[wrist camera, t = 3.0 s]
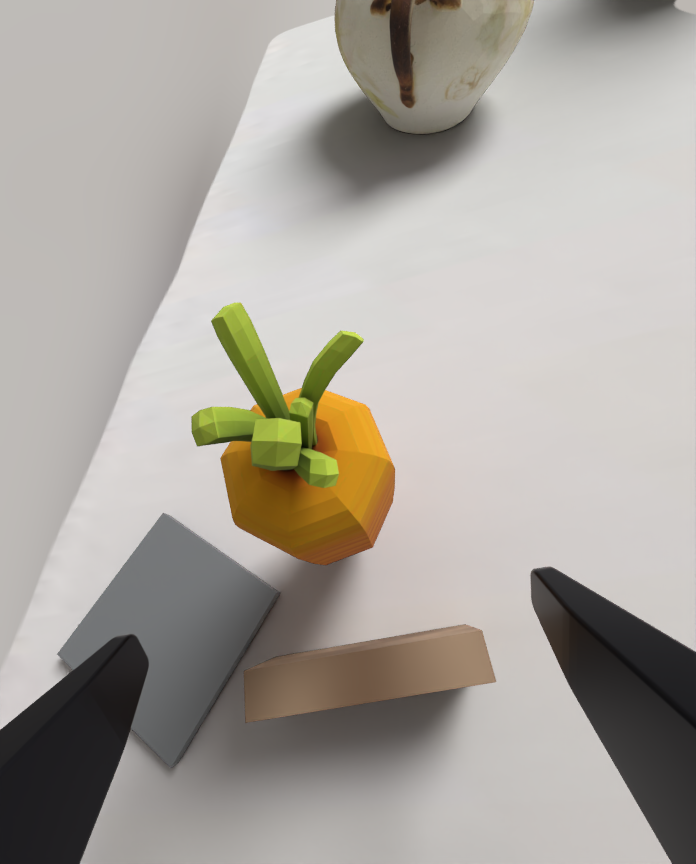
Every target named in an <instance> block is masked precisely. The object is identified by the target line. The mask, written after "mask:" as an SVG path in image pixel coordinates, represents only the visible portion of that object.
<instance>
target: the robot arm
mask: <svg viewBox="0 0 696 864" xmlns="http://www.w3.org/2000/svg"><path fill="white" fill-rule="evenodd" d="M531 599H532V604H533V607H534V610H535V612H536V614H537V617H538V619H539V621H540V623H541V625H542V628H543V630H544V632H545V634H546V636H547V639H548V641H549V643H550V645H551V647H552V649H553V652H554V654H555V656H556V658H557V660H558V663H559V665H560V667H561V669H562V671H563V673H564V675H565V678H566V680H567V682H568V684H569V686H570V688H571V689H572V691H573V693H574V695H575V697H576V698H577V700H578V702H579V704H580V705H581V707H582V709H583V711H584V712H585V714H586V716H587V717H588V719H589V721H590V723H591V724H592V726H593V728H594V730H595V731H596V733H597V735H598V736H599V738H600V740H601V742H602V743H603V745H604V747H605V749H606V750H607V752H608V754H609V755H610V757H611V759H612V761H613V762H614V764H615V766H616V768H617V769H618V771H619V773H620V774H621V776H622V778H623V780H624V781H625V783H626V785H627V787H628V788H629V790H630V792H631V793H632V795H633V797H634V799H635V800H636V802H637V804H638V806H639V807H640V809H641V811H642V812H643V814H644V816H645V818H646V819H647V821H648V823H649V825H650V826H651V828H652V830H653V832H654V833H655V835H656V837H657V838H658V840H659V842H660V844H661V845H662V847H663V849H664V851H665V852H666V854H667V856H668V857H669V859H670V861H671V863H672V864H696V652H695V651H693V650H692V649H690V648H688V647H687V646H685V645H683V644H682V643H680V642H678V641H676V640H675V639H673V638H671V637H670V636H668V635H666V634H665V633H663V632H661V631H660V630H658V629H656V628H654V627H653V626H651V625H649V624H648V623H646V622H644V621H643V620H641V619H639V618H638V617H636V616H634V615H633V614H631V613H629V612H627V611H626V610H624V609H622V608H621V607H619V606H617V605H616V604H614V603H612V602H611V601H609V600H607V599H606V598H604V597H602V596H600V595H599V594H597V593H595V592H594V591H592V590H590V589H589V588H587V587H585V586H584V585H582V584H580V583H578V582H577V581H575V580H573V579H572V578H570V577H568V576H567V575H565V574H563V573H562V572H560V571H558V570H557V569H555V568H553V567H543V568H537V569H533V570H532V571H531ZM148 668H149V660H148V657H147V655H146V653H145V651H144V649H143V647H142V645H141V643H140V641H139V639H138V638H137V636H136V635H134V634H125V635H119V636H116V637H114V638H112V639H111V640H110V641H108V642H107V643H106V644H105V645H103V646H102V647H101V648H100V649H99V650H97V651H96V652H95V653H94V654H92V655H91V656H90V657H89V658H88V659H86V660H85V661H84V662H83V663H82V664H80V665H79V666H78V667H77V668H75V669H74V670H73V671H72V672H71V673H69V674H68V675H67V676H66V677H64V678H63V679H62V680H61V681H60V682H58V683H57V684H56V685H55V686H53V687H52V688H51V689H50V690H49V691H47V692H46V693H45V694H44V695H42V696H41V697H40V698H39V699H38V700H36V701H35V702H34V703H33V704H31V705H30V706H29V707H28V708H27V709H25V710H24V711H23V712H22V713H20V714H19V715H18V716H17V717H16V718H14V719H13V720H12V721H11V722H9V723H8V724H7V725H6V726H5V727H3V728H2V729H1V730H0V864H80V861H81V859H82V856H83V854H84V851H85V849H86V846H87V843H88V841H89V838H90V836H91V833H92V831H93V828H94V826H95V823H96V820H97V818H98V815H99V813H100V810H101V808H102V805H103V802H104V800H105V797H106V795H107V792H108V790H109V787H110V784H111V782H112V779H113V777H114V774H115V772H116V769H117V766H118V764H119V761H120V759H121V756H122V753H123V750H124V748H125V745H126V742H127V739H128V736H129V732H130V729H131V726H132V722H133V719H134V716H135V712H136V709H137V706H138V702H139V699H140V696H141V692H142V689H143V686H144V682H145V679H146V676H147V672H148Z"/></svg>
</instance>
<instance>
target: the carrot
mask: <svg viewBox="0 0 696 864" xmlns="http://www.w3.org/2000/svg"><path fill="white" fill-rule="evenodd" d="M211 322H212V324H213V327H214V329H215V332H216V334H217V337H218V338H219V340H220V342H221V344H222V346H223V347H224V349H225V351H226V353H227V355H228V356H229V358H230V360H231V362H232V363H233V365H234V367H235V368H236V370H237V371H238V373H239V375H240V376H241V378H242V380H243V381H244V383H245V385H246V386H247V388H248V389H249V391H250V393H251V394H252V396H253V398H254V399H255V401H256V402H257V405H254V406H253V407H252V409H251V410H250V411H249V410H245V409H239V408H233V407H210V408H206V409H203V410H199V411H198V412H197V413H196V414H194V415H193V416H192V434H193V437H194V439H195V442H196V445H197V446H203V445H210V444H218V443H225V442H230V444H229V445H228V447H227V449H226V450H225V452H224V453H223V455H222V456H221V458H220V459H221V463H222V468H223V473H224V478H225V483H226V488H227V493H228V498H229V503H230V508H231V513H232V518H233V521H234V523H235V525H236V526H238V527H239V528H241V529H242V530H244V531H246V532H248V533H250V534H252V535H254V536H256V537H258V538H260V539H261V540H263V541H265V542H267V543H269V544H271V545H273V546H275V547H277V548H279V549H281V550H282V551H284V552H286V553H288V554H290V555H292V556H294V557H296V558H298V559H300V560H304V561H307V562H310V563H314V564H320V565H328V564H330V563H333V562H336V561H338V560H341V559H343V558H346V557H349V556H351V555H354V554H357V553H359V552H362V551H365V550H367V549H370V548H372V547H373V545H374V543H375V541H376V539H377V536H378V534H379V532H380V530H381V527H382V525H383V523H384V520H385V518H386V516H387V514H388V511H389V509H390V507H391V504H392V502H393V495H394V488H395V468H394V466H393V463H392V461H391V459H390V456H389V454H388V451H387V449H386V447H385V444H384V442H383V440H382V437H381V435H380V433H379V430H378V428H377V426H376V423H375V421H374V419H373V416H372V414H371V412H370V409H369V408H368V407H367V406H366V405H365V404H362V403H359V402H356V401H354V400H351V399H348V398H345V397H343V396H340V395H337V394H334V393H332V392H329V391H326V390H325V389H326V387H327V386H328V384H329V383H330V381H331V380H332V378H333V376H334V375H335V373H336V372H337V371H338V370H339V369H340V368H341V367H342V365H343V364H344V363H345V362H346V361H347V360H348V359H349V358H350V357H351V356H352V354H353V353H354V352H355V351H356V350H357V349H358V347H359V346H360V345H361V344H362V343H363V340H364V339H363V338H361V337H360V336H359V335H358V334H356V333H355V332H347V331H340V332H339V333H338V334H337V335H336V336H335V337H334V338H332V339H331V340H330V341H329V342H328V344H327V345H326V346H325V347H324V348H323V350H322V351H321V352H320V353H319V355H318V356H317V357H316V358H315V359H314V361H313V363H312V365H311V367H310V369H309V371H308V373H307V376H306V378H305V380H304V383H303V386H302V388H300V389H298V390H295V391H292V392H289V393H287V394H284V395H282V392H281V390H280V387H279V385H278V382H277V380H276V378H275V375H274V373H273V370H272V368H271V365H270V363H269V361H268V358H267V356H266V353H265V351H264V348H263V346H262V344H261V342H260V339H259V337H258V335H257V333H256V330H255V328H254V326H253V324H252V322H251V319H250V318H249V316H248V314H247V312H246V311H245V309H244V307H243V305H242V304H241V303H233V304H230V305H227V306H225V307H223V308H222V309H221V310H220V311H219V313H218V314H217V315H216V316H215V317H214V318H213V319H212V321H211Z"/></svg>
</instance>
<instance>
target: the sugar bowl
mask: <svg viewBox="0 0 696 864" xmlns="http://www.w3.org/2000/svg"><path fill="white" fill-rule="evenodd" d="M533 3H534V0H336V6H335V32H336V37H337V42H338V47H339V50H340V53H341V55H342V58H343V61H344V63H345V64H346V66H347V68H348V70H349V72H350V73H351V75H352V77H353V78H354V80H355V81H356V82H357V84H358V85H359V87H360V88H361V89H362V91H363V92H364V93H365V95H366V96H367V97H368V98H369V100H370V101H371V102H372V103H373V105H374V106H375V107H376V108H377V110H378V111H379V112H380V114H381V115H382V117H383V118H384V120H385V121H386V123H387V124H388V125H390V126H391V127H392V128H394V129H396V130H399V131H402V132H407V133H413V134H430V133H435V132H440V131H443V130H446V129H449V128H451V127H453V126H455V125H456V124H458V123H460V122H461V121H463V120H464V119H465V118H466V117H467V116H468V115H469V113H470V112H471V110H472V109H473V107H474V106H475V105H476V103H477V102H478V100H479V99H480V97H481V96H482V95H483V94H484V92H485V91H486V90H487V88H488V87H489V86H490V84H491V83H492V82H493V80H494V79H495V78H496V76H497V75H498V74H499V72H500V71H501V69H502V68H503V67H504V65H505V63H506V62H507V60H508V59H509V57H510V56H511V54H512V52H513V51H514V49H515V47H516V45H517V43H518V42H519V40H520V38H521V36H522V34H523V32H524V30H525V28H526V26H527V23H528V20H529V17H530V14H531V11H532V7H533Z"/></svg>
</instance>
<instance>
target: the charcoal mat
mask: <svg viewBox="0 0 696 864" xmlns="http://www.w3.org/2000/svg"><path fill="white" fill-rule="evenodd" d="M279 594H280V592H278V591H277V590H275V589H274V588H272V587H271V586H270V585H268V584H267V583H265V582H264V581H262V580H261V579H260V578H258V577H257V576H255V575H254V574H252V573H251V572H250V571H248V570H247V569H245V568H244V567H242V566H241V565H240V564H238V563H237V562H235V561H234V560H232V559H231V558H230V557H228V556H227V555H225V554H224V553H222V552H221V551H220V550H218V549H217V548H215V547H214V546H212V545H211V544H210V543H208V542H207V541H205V540H204V539H202V538H201V537H200V536H198V535H197V534H195V533H194V532H193V531H191V530H190V529H188V528H187V527H185V526H184V525H183V524H181V523H180V522H178V521H177V520H175V519H174V518H173V517H171V516H170V515H167V514H165V513H163V514H162V515H161V516H160V518H159V519H158V520H157V522H156V523H155V524H154V526H153V527H152V528H151V530H150V531H149V532H148V534H147V535H146V536H145V538H144V539H143V540H142V542H141V543H140V544H139V546H138V547H137V548H136V550H135V551H134V552H133V554H132V555H131V556H130V558H129V559H128V560H127V562H126V563H125V564H124V566H123V567H122V568H121V570H120V571H119V572H118V574H117V575H116V576H115V578H114V579H113V580H112V582H111V583H110V584H109V586H108V587H107V588H106V590H105V591H104V592H103V594H102V595H101V596H100V598H99V599H98V600H97V602H96V603H95V604H94V606H93V607H92V608H91V610H90V611H89V612H88V614H87V615H86V616H85V618H84V619H83V620H82V622H81V623H80V624H79V626H78V627H77V628H76V630H75V631H74V632H73V634H72V635H71V636H70V638H69V639H68V640H67V642H66V643H65V644H64V646H63V647H62V648H61V650H60V651H59V652H58V655H59V656H60V658H61V659H62V660H63V661H64V662H65V663H66V664H67V665H68V666H69V667H70V668H71V669H72V670H74V669H75V668H77V667H78V666H79V665H80V664H82V663H83V662H84V661H85V660H86V659H88V658H89V657H90V656H91V655H92V654H94V653H95V652H96V651H97V650H99V649H100V648H101V647H102V646H103V645H105V644H106V643H107V642H108V641H110V640H111V639H112V638H114V637H116V636H119V635H125V634H134V635H136V636H137V638H138V639H139V641H140V643H141V645H142V647H143V649H144V651H145V653H146V655H147V657H148V660H149V668H148V672H147V676H146V679H145V682H144V686H143V689H142V692H141V696H140V699H139V702H138V706H137V709H136V712H135V716H134V719H133V722H132V726H131V729H132V730H133V731H134V732H135V733H136V734H137V735H138V736H139V737H140V738H141V739H142V740H143V741H144V742H145V743H146V744H147V745H148V746H149V747H150V748H151V749H152V750H153V751H154V752H155V753H156V754H157V755H158V756H159V757H160V758H161V759H162V760H163V761H164V762H165V763H166V764H167V765H168V766H169V767H170V768H171V767H173V766H174V765H176V764H177V763H178V762H179V761H180V759H181V757H182V756H183V754H184V752H185V751H186V749H187V747H188V746H189V744H190V742H191V741H192V739H193V737H194V736H195V734H196V732H197V731H198V729H199V727H200V726H201V724H202V722H203V721H204V719H205V717H206V716H207V714H208V712H209V711H210V709H211V707H212V706H213V704H214V702H215V701H216V699H217V697H218V696H219V694H220V692H221V691H222V689H223V687H224V686H225V684H226V682H227V681H228V679H229V677H230V676H231V674H232V672H233V671H234V669H235V667H236V666H237V664H238V662H239V661H240V659H241V657H242V656H243V654H244V652H245V651H246V649H247V647H248V646H249V644H250V642H251V641H252V639H253V637H254V636H255V634H256V632H257V631H258V629H259V627H260V626H261V624H262V622H263V621H264V619H265V617H266V616H267V614H268V612H269V611H270V609H271V607H272V606H273V604H274V602H275V601H276V599H277V597H278V596H279Z"/></svg>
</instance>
